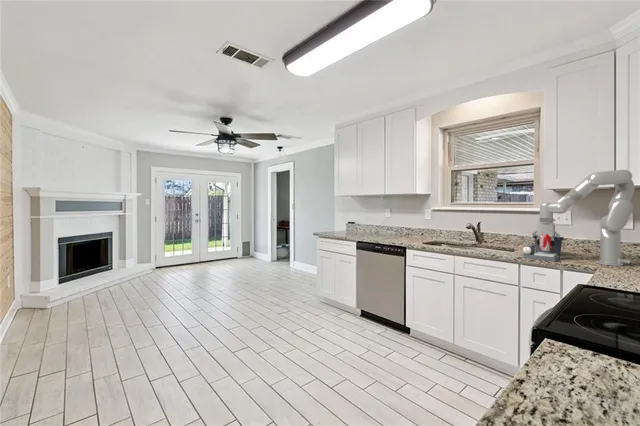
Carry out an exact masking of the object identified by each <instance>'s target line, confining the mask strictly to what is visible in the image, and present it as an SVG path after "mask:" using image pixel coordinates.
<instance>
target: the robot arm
mask: <svg viewBox="0 0 640 426" xmlns="http://www.w3.org/2000/svg"><path fill="white" fill-rule="evenodd" d="M632 178H633V174H632V172H631V171H630V170H627V169H615V170H607V171H595V172H593V173H590V174H588V175H587V176H586V177H585V178H584V179H582V180H581V181H580V182H579V183H578V184H576V185H575V186H574V187H573V188H572V189H570V190H569V191H568V192H567V193H566V194H564V196H562V197H561V198H559V199H558V201H556V202H553V203H552V202H541V203H540V204H539V221H538V223H537V227H536V230H535V231H534V232H532V233H531V236H532V237H533V236H534V237H535V238H536V239H537V244H538V245H539V240H540V236H541V235H542V233H544V234H548V235H549V236H550V237H551V239H552V241H551V246H552V247H553V245H554V242H555V240H556V239H557V238H559V237H561V235H560V234H559V233H558V232H557V231H556V225H555V222H556V219H555V218H554V214H559V215H560V214H565V213H567V211H568V209H569V208H570V207H571V206H572V205H574V204H575V203H576V202H579V201H580V200H582V199H584V198H585V197H587V196H588V195H589V194H590V193H592V192H593V191H594V190H596V189H597V188H598V187H599V186H606V185H607V186H609V185H614V186H615V190H614V193H613V195H612V198H610V202H609V204H608V206H607V207H608V210H609V212H608V214H607V215H605V216H603V217H602V218H601V219H600V221H599V231H600V237H599V238H600V240H599V243H600V244H599V260H596V263H597V264H599V265H604V266H613V267H614V266H615V267H623V266H624V264H630V263H631V260H629V259H622V257H621V242H622V241H621V239H622V236H621V235H622V234H621V230H622V229H624V228H625V227H626V225H627V223H628V221H629V219H630V216H631V214H632V212H633V208H634V205H633V203H632V202H631V201H632V199H633V195H634V193H635V183H634V181H633V179H632ZM536 235H537V236H538V237H537V236H536ZM554 236H557V237H555V238H554Z"/></svg>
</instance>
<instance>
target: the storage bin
mask: <svg viewBox="0 0 640 426" xmlns="http://www.w3.org/2000/svg"><path fill="white" fill-rule="evenodd" d="M535 235H536V236H537V234H535ZM537 237H538V236H537ZM555 237H557V235H555V236H554V238H555ZM532 238H533V239H534V245H535V253H536V252H546V253H556V254H557V255H559V257H561V251H562V243H563V241H564V240H565V237H564V236H560V237H559V238H557V239H556V240H555V242H554V245H553V247H552V249H551V250H550V251H543V250H541V249H540V248H539V245H538V244H537V239H536V238H535V237H534V236H533V235H532Z"/></svg>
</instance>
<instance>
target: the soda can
mask: <svg viewBox="0 0 640 426" xmlns="http://www.w3.org/2000/svg"><path fill="white" fill-rule="evenodd" d="M551 241H552V239H551V237H550V236H549V235H548V234H544V233H542V235H541V236H540V240H539V248H540V249H541V250H543V251H550V250H551V249H552V246H551Z"/></svg>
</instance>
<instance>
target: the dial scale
mask: <svg viewBox="0 0 640 426" xmlns="http://www.w3.org/2000/svg"><path fill="white" fill-rule="evenodd" d="M522 252H523V259H525V260H526V259H527V260H535V261H542V262H543V261H544V262H553V263H555V262H557V261H558V260H559V257H560V256H559V255H557V254H556V253H546V252H535V243H528V244H525V245H524V246H523V248H522Z"/></svg>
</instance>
